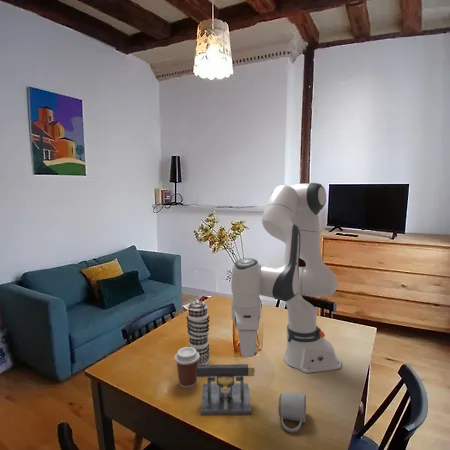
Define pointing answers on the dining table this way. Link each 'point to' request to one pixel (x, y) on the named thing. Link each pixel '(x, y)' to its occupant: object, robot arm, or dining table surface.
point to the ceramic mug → (292, 409)
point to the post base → (232, 403)
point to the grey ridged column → (199, 330)
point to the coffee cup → (187, 366)
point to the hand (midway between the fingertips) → (246, 355)
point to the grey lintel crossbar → (225, 373)
